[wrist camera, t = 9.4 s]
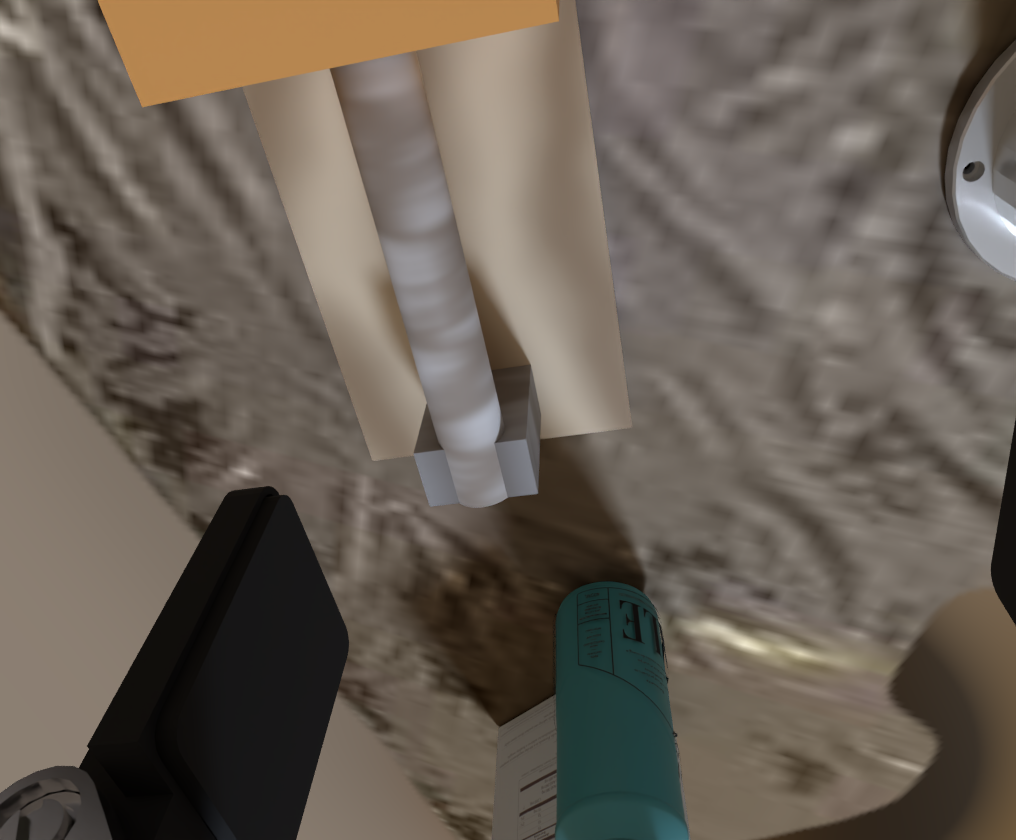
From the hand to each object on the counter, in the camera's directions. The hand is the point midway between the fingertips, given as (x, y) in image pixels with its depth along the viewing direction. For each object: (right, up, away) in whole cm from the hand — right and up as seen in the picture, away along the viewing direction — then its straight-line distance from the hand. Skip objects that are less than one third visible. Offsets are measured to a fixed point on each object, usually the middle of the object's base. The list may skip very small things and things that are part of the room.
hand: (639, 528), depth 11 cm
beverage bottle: (+4, -10, +40) cm, 41 cm away
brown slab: (-6, +18, +19) cm, 27 cm away
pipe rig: (-5, +13, +26) cm, 29 cm away
